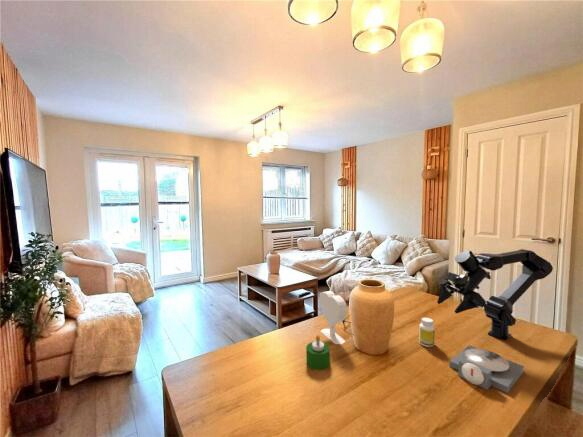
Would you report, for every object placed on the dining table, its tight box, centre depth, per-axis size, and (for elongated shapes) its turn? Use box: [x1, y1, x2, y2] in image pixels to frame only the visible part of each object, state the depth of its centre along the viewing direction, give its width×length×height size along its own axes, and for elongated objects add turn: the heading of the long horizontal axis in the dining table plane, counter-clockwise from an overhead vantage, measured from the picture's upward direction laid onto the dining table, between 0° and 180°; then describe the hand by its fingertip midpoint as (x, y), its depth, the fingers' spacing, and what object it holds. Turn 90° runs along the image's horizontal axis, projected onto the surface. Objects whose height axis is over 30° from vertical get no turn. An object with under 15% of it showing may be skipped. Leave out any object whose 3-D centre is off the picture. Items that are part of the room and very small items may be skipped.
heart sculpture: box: [319, 290, 348, 345], centre depth 113 cm, size 16×5×18 cm, turn 24°
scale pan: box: [465, 348, 509, 372], centre depth 90 cm, size 12×12×1 cm
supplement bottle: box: [418, 317, 436, 348], centre depth 106 cm, size 5×5×10 cm
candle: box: [305, 335, 331, 371], centre depth 95 cm, size 8×8×10 cm
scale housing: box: [449, 344, 525, 394], centre depth 89 cm, size 20×16×6 cm
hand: (446, 307), depth 106 cm, fingers open, 9 cm apart
